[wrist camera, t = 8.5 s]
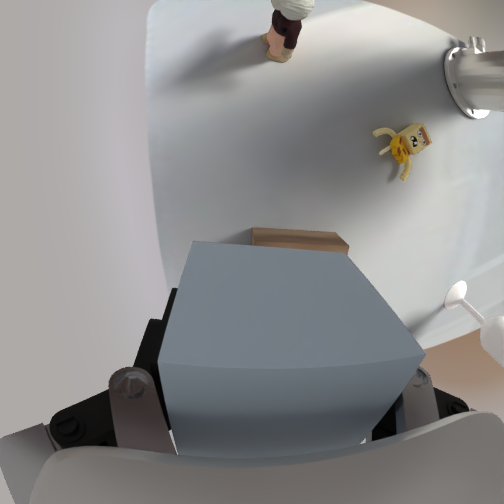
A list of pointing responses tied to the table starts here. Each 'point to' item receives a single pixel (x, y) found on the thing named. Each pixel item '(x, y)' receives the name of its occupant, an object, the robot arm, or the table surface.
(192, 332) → the blue cube
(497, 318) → the champagne flute
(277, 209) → the table surface
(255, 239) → the tower bottom
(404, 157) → the character toy
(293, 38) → the grandmother figurine
